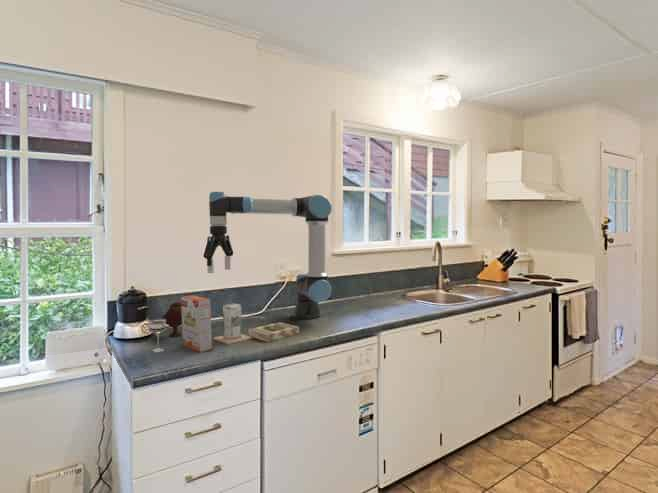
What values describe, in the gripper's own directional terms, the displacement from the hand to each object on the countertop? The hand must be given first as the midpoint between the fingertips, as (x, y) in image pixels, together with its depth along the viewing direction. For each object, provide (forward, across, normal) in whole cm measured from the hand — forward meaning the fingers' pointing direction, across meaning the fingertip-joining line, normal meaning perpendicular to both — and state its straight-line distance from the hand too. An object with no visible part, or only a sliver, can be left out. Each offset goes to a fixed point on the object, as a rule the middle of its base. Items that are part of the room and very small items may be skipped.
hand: (219, 271), depth 193 cm
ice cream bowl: (+29, +11, -17) cm, 35 cm away
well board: (+29, -4, +26) cm, 39 cm away
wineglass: (+29, +31, -8) cm, 43 cm away
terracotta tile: (+29, +8, +12) cm, 32 cm away
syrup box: (+28, +8, +12) cm, 31 cm away
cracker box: (+29, +24, +5) cm, 38 cm away
